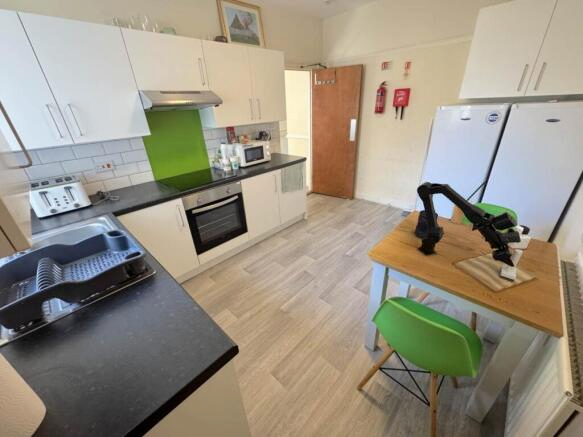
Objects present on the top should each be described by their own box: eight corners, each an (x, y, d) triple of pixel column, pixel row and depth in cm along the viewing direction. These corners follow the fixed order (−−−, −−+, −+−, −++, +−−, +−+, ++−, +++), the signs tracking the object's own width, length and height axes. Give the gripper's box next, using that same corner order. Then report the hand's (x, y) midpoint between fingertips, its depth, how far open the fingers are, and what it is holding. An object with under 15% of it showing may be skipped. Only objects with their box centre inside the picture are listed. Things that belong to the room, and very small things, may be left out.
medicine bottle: (516, 241, 137) (525, 223, 132) (526, 249, 131) (535, 230, 125) (503, 241, 138) (511, 223, 132) (512, 248, 132) (521, 229, 126)
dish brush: (513, 282, 107) (526, 257, 101) (499, 277, 110) (511, 253, 104) (513, 273, 113) (526, 248, 106) (500, 268, 116) (511, 244, 109)
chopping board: (494, 292, 104) (495, 289, 104) (454, 264, 121) (455, 262, 121) (535, 278, 111) (536, 276, 110) (491, 254, 128) (492, 252, 127)
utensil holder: (470, 226, 155) (486, 182, 141) (450, 224, 157) (464, 181, 143) (462, 218, 164) (477, 176, 150) (444, 217, 166) (457, 176, 152)
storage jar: (410, 233, 149) (416, 207, 141) (421, 229, 152) (428, 204, 144) (424, 241, 141) (431, 214, 133) (435, 237, 144) (443, 210, 136)
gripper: (513, 235, 96) (538, 266, 96) (509, 217, 110) (530, 244, 109) (483, 246, 104) (505, 274, 103) (482, 227, 117) (502, 253, 117)
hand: (512, 261), depth 108 cm, fingers open, 9 cm apart
